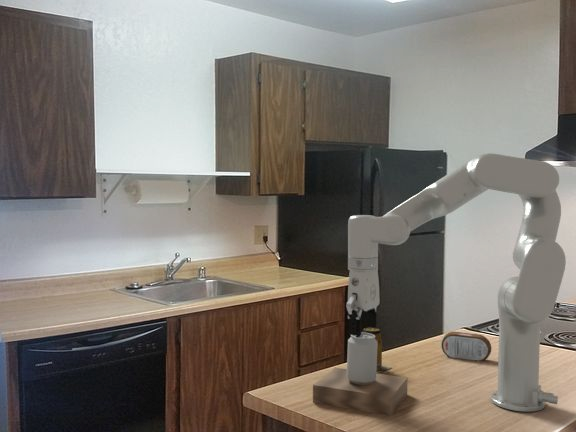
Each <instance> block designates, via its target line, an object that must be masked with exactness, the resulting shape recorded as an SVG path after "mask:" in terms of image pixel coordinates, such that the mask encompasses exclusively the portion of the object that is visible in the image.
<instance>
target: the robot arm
mask: <svg viewBox="0 0 576 432" xmlns="http://www.w3.org/2000/svg"><path fill="white" fill-rule="evenodd" d="M559 184H560V175H559V172H558V170H557V169H556V168H555V166H554V165H553V164H551V163H549V162H547V161H543V160H537V159H529V158H524V157H516V156H511V155H505V154H499V153H484V154H480V155H477V156H475V157H473V158H470V159H469V160H468V161H466V162H465V163H463V164H462V165H460V166H459V167H457V168H454V170H452V171H451V172H449V173H447V174H446V175H444V176H443V177H441V178H439V179H438V180H436V181H435V182H433V183H432V184H430V185H429V186H426V188H424V189H422V191H420V192H419V193H417V194H415V195H413V196H412V197H410V198H408V199H407V200H405V201H404V202H402V203H401V204H399V205H397V206H396V207H394V208H393V209H392V210H390V211H388V212H386V213H385V214H384V215H383V216H375V215H369V214H356V215H351V216H350V217H349V218H348V222H347V270H348V271H349V275H348V282H347V283H348V287H347V288H348V289H347V301H346V305H345V307H346V313H347V320H348V335H350V336H351V335H356V336H360V335H361V332H362V319H361V316H362V313H363V311H364V318H363V319H364V320H363V321H364V322H363V323H364V327H365V328H377V324H378V323H377V319H378V318H377V315H378V314H377V313H378V312H377V311H378V306H379V305H380V282H379V281H380V280H379V244H383V245H388V246H398V245H402V244H403V243H405V242H406V241H407V240H408V239H409V237H410V234H411V232H413V231H414V230H415V229H417V228H418V227H421V226H422V225H424V224H427V222H430V221H431V220H434V219H437V218H438V219H439V218H441V217H444V216H447V215H449V214H452V213H453V212H455V211H456V210H457V209H459V208H461V207H462V206H464V205H466V204H467V203H469V202H470V201H471V200H473V199H475V198H477V197H478V196H480V195H482V194H483V193H485V192H486V191H488V190H491V191H493V190H494V191H497V192H503V193H508V194H509V193H510V194H515V195H518V196H519V198H520V199H521V202H522V205H523V212H522V213H523V214H522V219H521V223H520V228H519V231H518V233H517V234H518V235H517V237H516V241H515V245H514V248H513V252H512V261H513V264H514V265H515V266H516V267H517V268H518V269H519V274H518V276H513V277H510V278H507V279H506V280H504V282H503V283H502V284H501V285H500V287H499V288H498V289H499V290H498V293H497V308H498V309H497V310H498V323H499V324H498V327H499V328H498V362H497V363H498V365H497V391H494V392H493V393H492V394H491V395H490V400H491V402H492V403H493V404H495V405H496V406H497V407H500V408H503V409H505V410H510V411H514V412H515V411H516V412H523V413H524V412H526V413H529V412H531V413H532V412H538V411H541V410H543V409H544V408H545V407H546V403H549V404H554V405H558V400H559V397H558V395H554V393H553V392H546V391H544V390H542V385H539V384H540V383H539V379H540V352H541V351H540V346H541V345H540V344H541V327H540V325H541V324H540V323H542V322H544V321H546V320H547V319H548V318H549V317H550V316H551V314H552V312H553V310H554V308H555V306H556V302H557V299H558V296H559V292H560V288H561V284H562V281H563V277H564V274H565V270H566V255H565V251H564V249H563V247H562V246H561V245H560V244H559V243H558V241H557V242H556V239H557V235H558V231H559V227H560V222H561V216H562V205H561V201H560V197H559V195H558V192H557V188H558V186H559Z"/></svg>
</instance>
